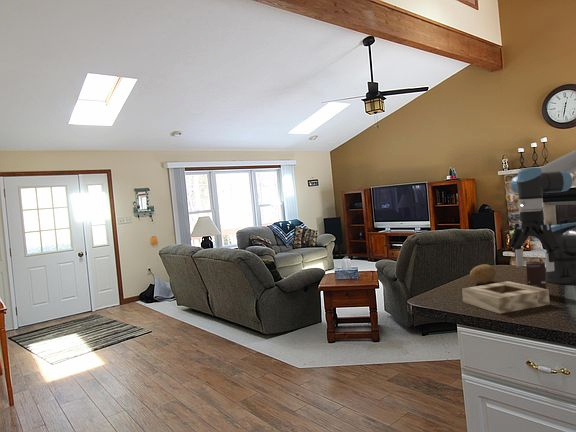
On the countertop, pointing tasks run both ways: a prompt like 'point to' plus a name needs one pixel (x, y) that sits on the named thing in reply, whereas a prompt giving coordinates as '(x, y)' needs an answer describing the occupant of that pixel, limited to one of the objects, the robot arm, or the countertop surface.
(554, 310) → the countertop surface
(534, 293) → the square frame
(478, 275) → the potato
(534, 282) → the box
